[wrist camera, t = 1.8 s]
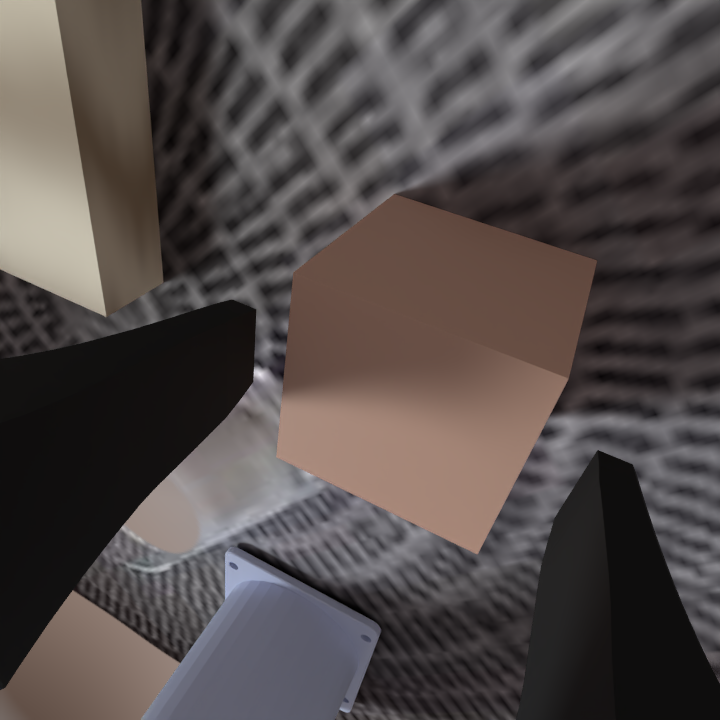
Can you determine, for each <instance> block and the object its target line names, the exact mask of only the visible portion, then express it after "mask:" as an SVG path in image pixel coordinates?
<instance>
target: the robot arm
mask: <svg viewBox="0 0 720 720" xmlns="http://www.w3.org/2000/svg"><path fill="white" fill-rule="evenodd" d="M255 327H256V309H254V308H251V307H249V306H247V305H244V304H242V303H239V302H237V301H234V300H228V301H224V302H220V303H217V304H213V305H210V306H207V307H204V308H200V309H197V310H194V311H191V312H188V313H185V314H181V315H178V316H175V317H172V318H169V319H166V320H162V321H159V322H156V323H153V324H150V325H146V326H143V327H140V328H137V329H133V330H130V331H126V332H122V333H118V334H115V335H111V336H107V337H104V338H100V339H96V340H93V341H89V342H85V343H81V344H77V345H73V346H69V347H64V348H59V349H55V350H50V351H45V352H39V353H34V354H29V355H24V356H18V357H12V358H4V359H0V690H1V689H4V688H5V687H6V686H7V684H8V683H9V681H10V680H11V678H12V676H13V675H14V673H15V672H16V670H17V669H18V667H19V666H20V664H21V663H22V661H23V660H24V658H25V657H26V656H27V654H28V652H29V651H30V650H31V648H32V647H33V645H34V644H35V642H36V641H37V639H38V638H39V636H40V635H41V634H42V632H43V630H44V629H45V628H46V626H47V625H48V623H49V622H50V620H51V619H52V618H53V616H54V615H55V614H56V612H57V611H58V609H59V608H60V607H61V605H62V604H63V602H64V601H65V600H66V598H67V597H68V596H69V594H70V593H71V592H72V590H73V589H74V588H75V586H76V585H77V583H78V582H79V581H80V579H81V578H82V577H83V575H84V574H85V573H86V571H87V570H88V569H89V568H90V566H91V565H92V564H93V562H94V561H95V560H96V559H97V557H98V556H99V555H100V553H101V552H102V551H103V550H104V548H105V547H106V546H107V544H108V543H109V542H110V541H111V539H112V538H113V537H114V536H115V534H116V533H117V532H118V531H119V530H120V528H121V527H122V526H123V525H124V523H125V522H126V521H127V520H128V519H129V517H130V516H131V515H132V514H133V513H134V511H135V510H136V509H137V508H138V506H139V505H140V504H141V503H142V502H143V501H144V500H145V499H146V497H147V496H148V495H149V494H150V493H151V492H152V491H153V490H154V489H155V488H156V487H157V486H158V485H159V484H160V483H161V482H162V481H163V480H164V479H165V478H166V477H167V476H168V475H169V474H170V473H171V472H172V471H173V470H174V469H175V468H176V467H177V466H178V465H179V464H180V463H181V462H182V461H183V460H184V459H185V458H186V457H187V456H188V455H189V454H190V453H191V452H192V451H193V450H194V449H195V448H196V447H197V446H198V445H199V444H200V443H201V442H202V441H203V440H204V439H205V438H206V437H207V436H208V435H209V434H210V433H211V432H212V431H213V430H214V429H215V428H216V427H217V426H218V425H219V424H220V423H221V422H222V421H223V420H224V419H225V418H226V417H227V416H228V415H229V413H230V412H231V411H232V410H233V408H234V407H235V406H236V404H237V403H238V402H239V401H240V399H241V398H242V397H243V395H244V394H245V392H246V391H247V390H248V388H249V387H250V386H251V384H252V383H253V375H254V351H255ZM380 633H381V628H380V626H379V625H378V624H377V623H376V622H374V621H373V620H371V619H369V618H367V617H365V616H364V615H362V614H360V613H358V612H356V611H354V610H352V609H351V608H349V607H347V606H345V605H343V604H341V603H339V602H338V601H336V600H334V599H332V598H330V597H328V596H327V595H325V594H323V593H321V592H319V591H317V590H315V589H314V588H312V587H310V586H308V585H306V584H304V583H302V582H301V581H299V580H297V579H295V578H293V577H291V576H289V575H288V574H286V573H284V572H282V571H280V570H278V569H276V568H275V567H273V566H271V565H269V564H267V563H265V562H263V561H262V560H260V559H258V558H256V557H254V556H252V555H250V554H249V553H247V552H245V551H243V550H241V549H239V548H237V547H230V548H229V549H228V551H227V552H226V554H225V601H224V603H223V604H222V606H221V607H220V608H219V610H218V611H217V613H216V614H215V615H214V617H213V618H212V620H211V621H210V622H209V624H208V625H207V627H206V628H205V630H204V631H203V632H202V634H201V635H200V637H199V638H198V639H197V641H196V642H195V644H194V645H193V646H192V648H191V649H190V651H189V652H188V653H187V655H186V656H185V658H184V659H183V661H182V662H181V663H180V665H179V666H178V668H177V669H176V671H175V672H174V673H173V675H172V676H171V677H170V679H169V680H168V682H167V683H166V684H165V686H164V687H163V689H162V690H161V692H160V693H159V694H158V696H157V697H156V699H155V700H154V702H153V703H152V704H151V706H150V707H149V708H148V710H147V711H146V713H145V714H144V716H143V717H142V718H141V720H335V718H336V716H337V713H338V711H339V709H340V710H342V711H344V712H350V711H351V709H352V706H353V704H354V701H355V699H356V696H357V693H358V691H359V688H360V686H361V683H362V680H363V678H364V675H365V673H366V670H367V667H368V665H369V662H370V660H371V657H372V654H373V652H374V649H375V646H376V644H377V641H378V639H379V636H380ZM516 720H720V683H719V682H718V680H717V678H716V676H715V674H714V672H713V670H712V668H711V666H710V664H709V662H708V660H707V658H706V656H705V653H704V651H703V649H702V647H701V645H700V643H699V641H698V639H697V636H696V634H695V632H694V629H693V627H692V625H691V623H690V620H689V618H688V616H687V614H686V611H685V609H684V607H683V604H682V602H681V599H680V597H679V595H678V592H677V590H676V587H675V585H674V582H673V580H672V577H671V574H670V572H669V569H668V566H667V564H666V561H665V559H664V556H663V553H662V551H661V548H660V545H659V542H658V540H657V537H656V534H655V531H654V528H653V525H652V522H651V519H650V516H649V513H648V510H647V507H646V504H645V501H644V497H643V494H642V491H641V488H640V484H639V481H638V478H637V475H636V472H635V469H634V467H633V465H632V464H630V463H628V462H625V461H623V460H621V459H618V458H616V457H613V456H611V455H608V454H606V453H604V452H601V451H599V450H598V451H597V452H596V454H595V455H594V457H593V458H592V460H591V462H590V463H589V465H588V466H587V468H586V469H585V471H584V473H583V474H582V476H581V477H580V479H579V480H578V482H577V484H576V485H575V487H574V488H573V490H572V492H571V493H570V495H569V496H568V498H567V499H566V501H565V503H564V504H563V506H562V507H561V509H560V510H559V512H558V514H557V515H556V517H555V519H554V522H553V526H552V529H551V533H550V536H549V540H548V543H547V547H546V550H545V554H544V558H543V561H542V565H541V571H540V577H539V584H538V590H537V597H536V603H535V610H534V617H533V624H532V631H531V637H530V644H529V651H528V658H527V665H526V672H525V678H524V685H523V690H522V695H521V700H520V705H519V710H518V714H517V718H516Z"/></svg>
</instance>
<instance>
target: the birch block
mask: <svg viewBox="0 0 720 720" xmlns="http://www.w3.org/2000/svg"><path fill="white" fill-rule="evenodd" d="M0 270H3V271H5V272H7V273H9V274H12V275H14V276H16V277H18V278H20V279H23V280H25V281H27V282H29V283H32V284H34V285H36V286H38V287H41V288H43V289H45V290H47V291H50V292H52V293H54V294H56V295H58V296H61V297H63V298H65V299H67V300H70V301H72V302H74V303H76V304H79V305H81V306H83V307H85V308H87V309H90V310H92V311H94V312H96V313H99V314H101V315H103V316H105V317H107V316H109V315H111V314H112V313H114V312H116V311H117V310H119V309H121V308H122V307H124V306H126V305H127V304H129V303H131V302H132V301H134V300H135V299H137V298H139V297H140V296H142V295H144V294H145V293H147V292H149V291H150V290H152V289H154V288H155V287H157V286H159V285H160V284H162V283H164V282H163V270H162V257H161V244H160V232H159V219H158V207H157V194H156V181H155V169H154V156H153V144H152V131H151V118H150V106H149V93H148V81H147V68H146V56H145V43H144V30H143V18H142V5H141V0H0Z"/></svg>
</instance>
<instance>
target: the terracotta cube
mask: <svg viewBox="0 0 720 720" xmlns="http://www.w3.org/2000/svg"><path fill="white" fill-rule="evenodd" d="M596 264H597V260H594V259H591V258H588V257H585V256H582V255H579V254H576V253H573V252H570V251H567V250H564V249H561V248H557V247H554V246H551V245H548V244H545V243H542V242H539V241H536V240H533V239H530V238H527V237H524V236H521V235H518V234H515V233H512V232H509V231H506V230H503V229H500V228H497V227H493V226H490V225H487V224H484V223H481V222H478V221H475V220H472V219H469V218H466V217H463V216H460V215H457V214H454V213H451V212H448V211H445V210H442V209H439V208H436V207H433V206H429V205H426V204H423V203H420V202H417V201H414V200H411V199H408V198H405V197H402V196H399V195H396V194H394V195H393V196H391V197H390V198H389V199H387V200H386V201H385V202H384V203H382V204H381V205H380V206H378V207H377V208H376V209H375V210H373V211H372V212H371V213H369V214H368V215H367V216H366V217H364V218H363V219H362V220H360V221H359V222H358V223H357V224H355V225H354V226H353V227H351V228H350V229H349V230H348V231H346V232H345V233H344V234H342V235H341V236H340V237H339V238H337V239H336V240H335V241H333V242H332V243H331V244H330V245H328V246H327V247H326V248H324V249H323V250H322V251H321V252H319V253H318V254H317V255H315V256H314V257H313V258H311V259H310V260H309V261H308V262H306V263H305V264H304V265H302V266H301V267H300V268H299V269H297V270H296V271H295V272H294V273H293V284H292V294H291V305H290V316H289V327H288V338H287V349H286V359H285V370H284V381H283V392H282V403H281V414H280V424H279V435H278V446H277V458H279V459H281V460H284V461H286V462H288V463H290V464H292V465H294V466H296V467H298V468H300V469H302V470H304V471H306V472H308V473H310V474H312V475H315V476H317V477H319V478H321V479H323V480H325V481H327V482H329V483H331V484H333V485H335V486H337V487H339V488H341V489H343V490H345V491H348V492H350V493H352V494H354V495H356V496H358V497H360V498H362V499H364V500H366V501H368V502H370V503H372V504H374V505H376V506H378V507H381V508H383V509H385V510H387V511H389V512H391V513H393V514H395V515H397V516H399V517H401V518H403V519H405V520H407V521H409V522H412V523H414V524H416V525H418V526H420V527H422V528H424V529H426V530H428V531H430V532H432V533H434V534H436V535H438V536H440V537H442V538H445V539H447V540H449V541H451V542H453V543H455V544H457V545H459V546H461V547H463V548H465V549H467V550H469V551H471V552H473V553H475V554H478V552H479V550H480V548H481V547H482V545H483V543H484V541H485V539H486V537H487V535H488V533H489V531H490V529H491V527H492V525H493V523H494V522H495V520H496V518H497V516H498V514H499V512H500V510H501V508H502V506H503V504H504V502H505V500H506V498H507V497H508V495H509V493H510V491H511V489H512V487H513V485H514V483H515V481H516V479H517V477H518V475H519V473H520V471H521V470H522V468H523V466H524V464H525V462H526V460H527V458H528V456H529V454H530V452H531V450H532V448H533V446H534V445H535V443H536V441H537V439H538V437H539V435H540V433H541V431H542V429H543V427H544V425H545V423H546V421H547V420H548V418H549V416H550V414H551V412H552V410H553V408H554V406H555V404H556V402H557V400H558V398H559V396H560V395H561V393H562V391H563V389H564V387H565V385H566V383H567V381H568V379H569V376H570V371H571V367H572V363H573V359H574V355H575V351H576V347H577V342H578V338H579V334H580V330H581V326H582V322H583V318H584V314H585V309H586V305H587V301H588V297H589V293H590V289H591V285H592V280H593V276H594V272H595V268H596Z"/></svg>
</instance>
